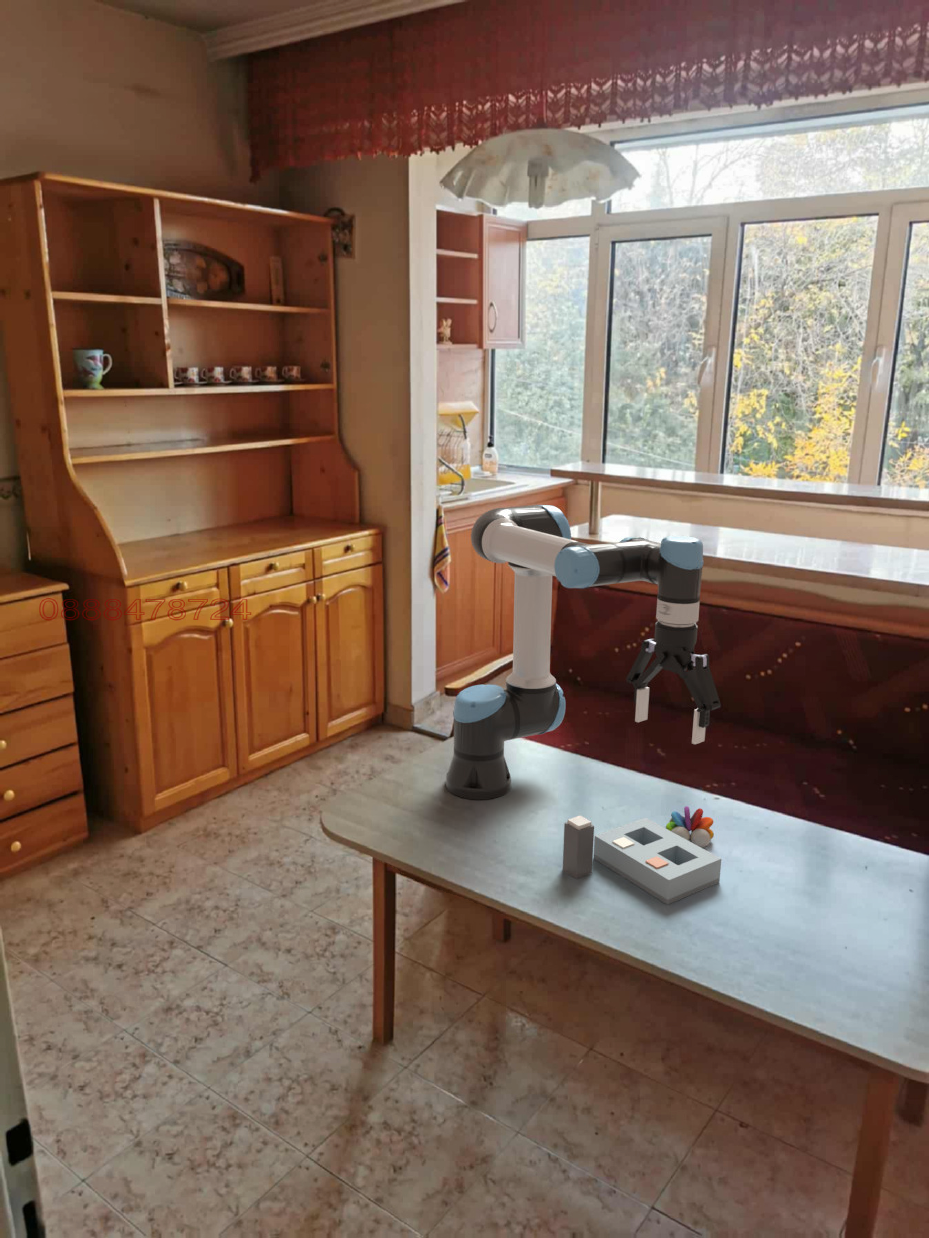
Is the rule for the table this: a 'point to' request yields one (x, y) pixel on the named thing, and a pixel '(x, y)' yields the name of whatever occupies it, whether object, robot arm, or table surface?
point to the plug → (578, 847)
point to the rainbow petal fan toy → (692, 826)
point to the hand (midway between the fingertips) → (668, 731)
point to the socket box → (657, 860)
